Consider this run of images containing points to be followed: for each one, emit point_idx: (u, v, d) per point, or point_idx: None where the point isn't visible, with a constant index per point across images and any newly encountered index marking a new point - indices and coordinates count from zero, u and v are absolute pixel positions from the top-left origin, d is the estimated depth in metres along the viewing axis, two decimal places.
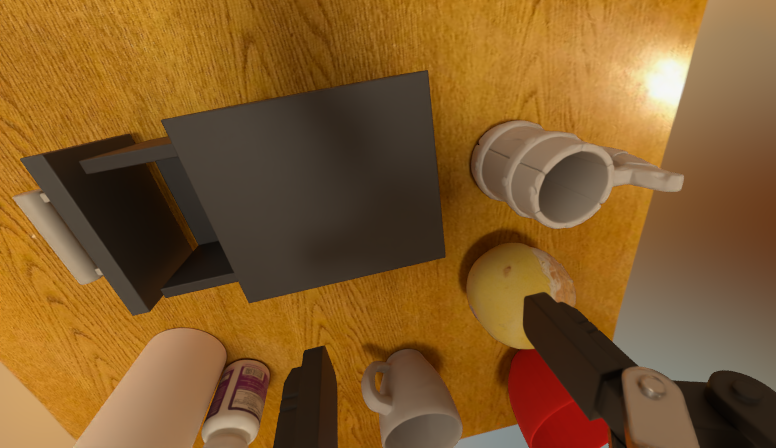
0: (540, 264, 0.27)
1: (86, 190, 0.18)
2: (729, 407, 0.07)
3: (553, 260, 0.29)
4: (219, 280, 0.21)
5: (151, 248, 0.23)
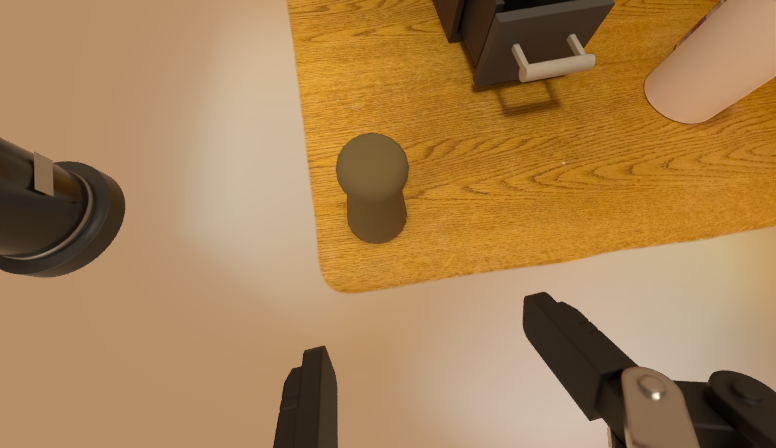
0: None
1: None
2: (729, 407, 0.07)
3: None
4: None
5: None
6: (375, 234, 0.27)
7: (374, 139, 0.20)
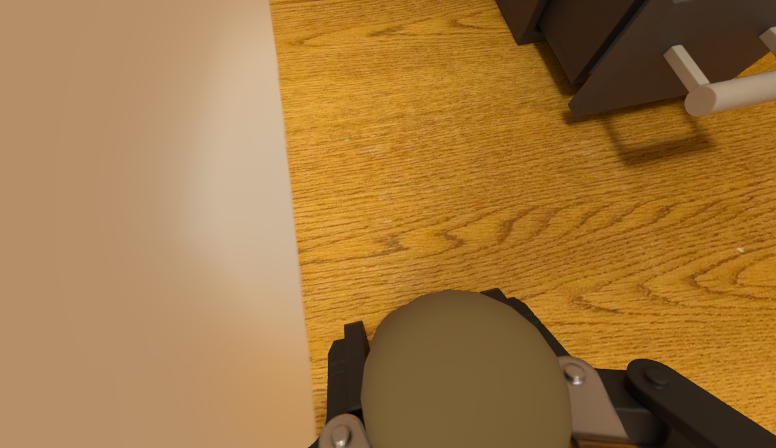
0: None
1: None
2: (640, 391, 0.08)
3: None
4: None
5: None
6: None
7: (477, 334, 0.07)
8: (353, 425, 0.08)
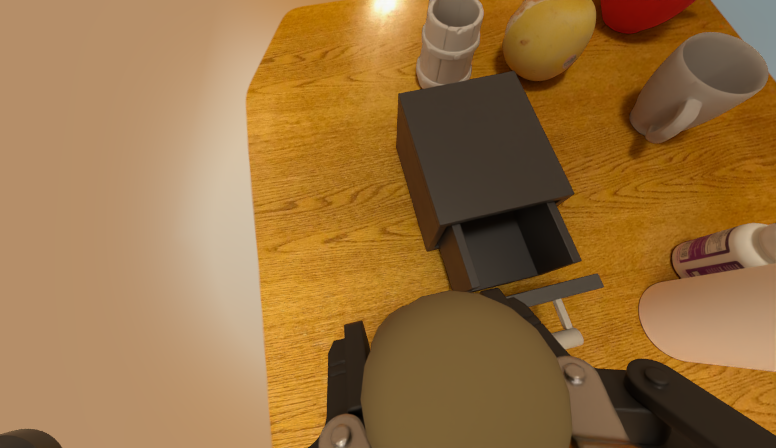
0: (515, 21, 0.37)
1: None
2: (640, 391, 0.08)
3: (511, 17, 0.39)
4: (557, 219, 0.27)
5: None
6: None
7: (477, 335, 0.07)
8: (353, 425, 0.08)
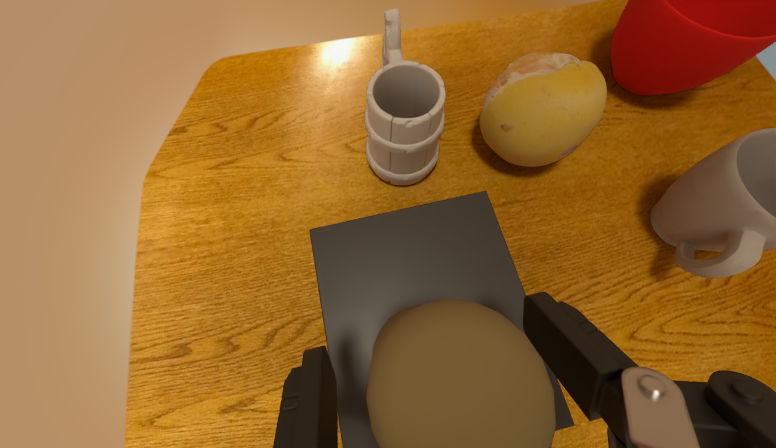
0: (494, 97, 0.27)
1: None
2: (729, 407, 0.07)
3: (490, 87, 0.28)
4: None
5: None
6: None
7: (471, 340, 0.08)
8: None
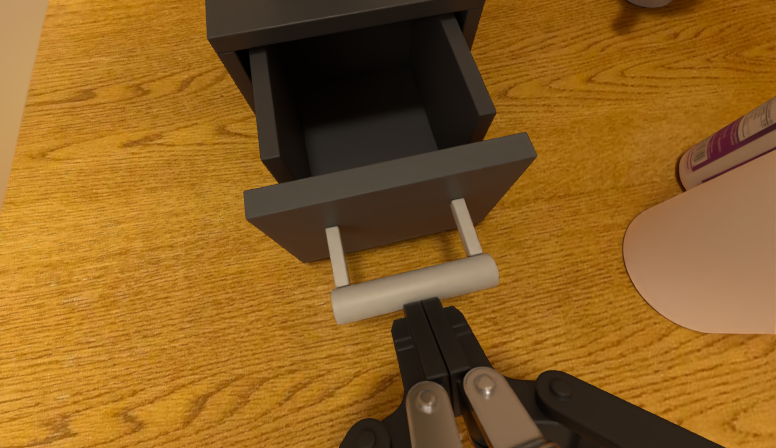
0: None
1: None
2: (544, 403, 0.08)
3: None
4: (457, 45, 0.14)
5: None
6: None
7: None
8: (436, 391, 0.08)
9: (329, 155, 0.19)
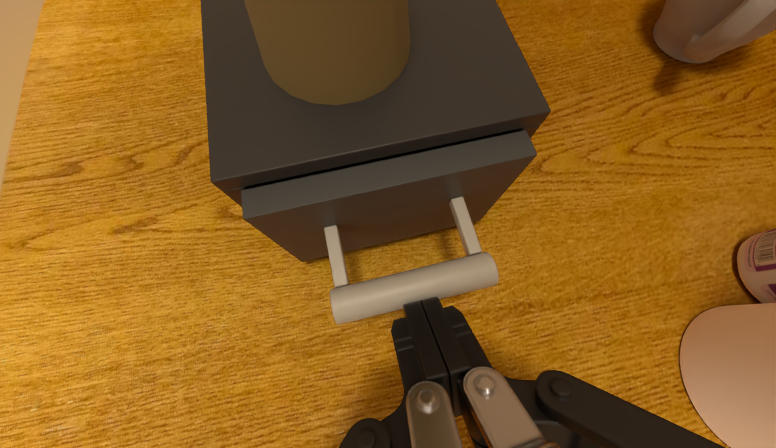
0: None
1: None
2: (543, 403, 0.08)
3: None
4: None
5: None
6: (320, 49, 0.09)
7: None
8: (436, 391, 0.08)
9: None
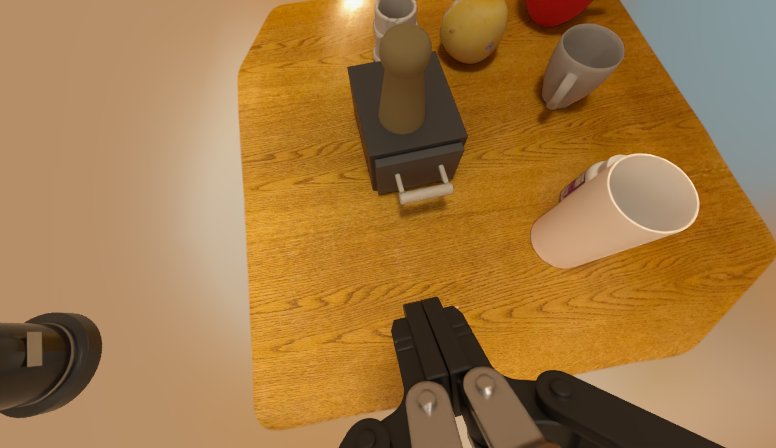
0: (446, 15, 0.48)
1: None
2: (543, 403, 0.08)
3: (445, 12, 0.49)
4: None
5: None
6: (402, 121, 0.35)
7: (407, 25, 0.29)
8: (436, 391, 0.08)
9: None
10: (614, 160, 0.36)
